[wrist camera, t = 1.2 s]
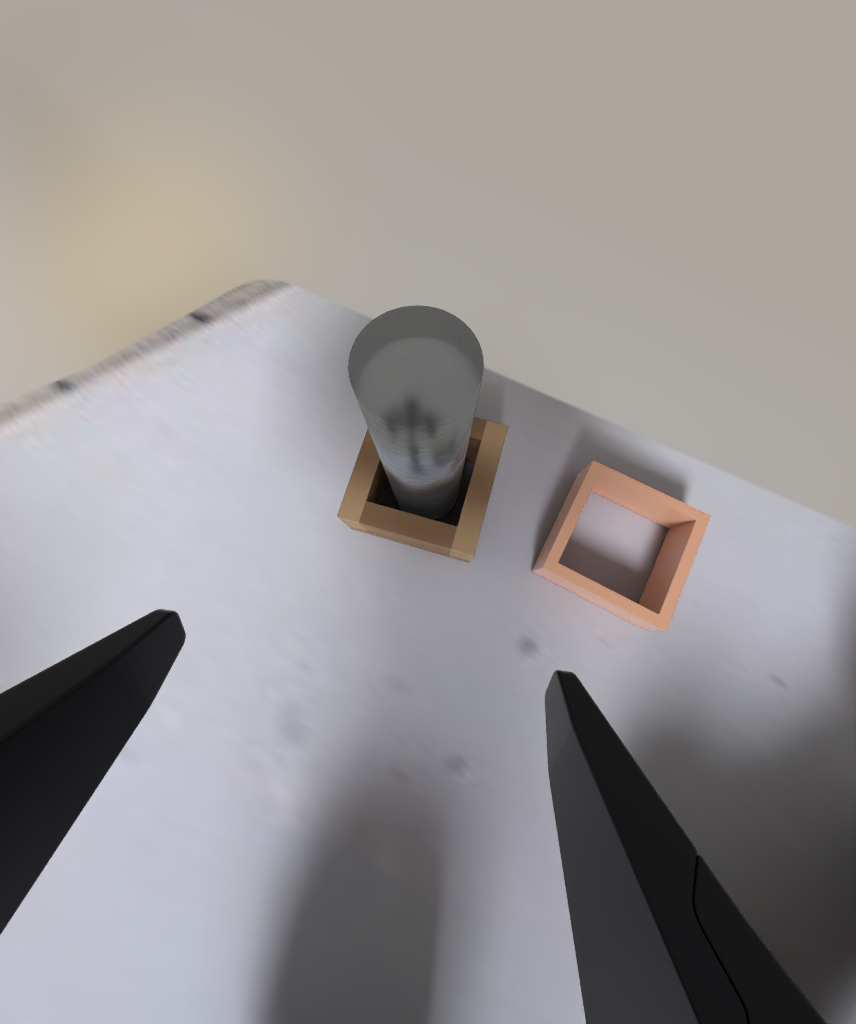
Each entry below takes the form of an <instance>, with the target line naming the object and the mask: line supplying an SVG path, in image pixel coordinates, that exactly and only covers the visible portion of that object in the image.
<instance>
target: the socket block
mask: <svg viewBox="0 0 856 1024" xmlns="http://www.w3.org/2000/svg"><path fill="white" fill-rule="evenodd" d="M591 491H592V492H594V493H596V494H598V495H600V496H602V497H604V498H606V499H608V500H611V501H613V502H615V503H617V504H619V505H621V506H623V507H625V508H627V509H629V510H631V511H633V512H635V513H637V514H640V515H642V516H644V517H646V518H648V519H650V520H652V521H654V522H656V523H658V524H660V525H662V526H664V527H666V528H668V529H669V530H668V532H667V535H666V537H665V540H664V542H663V545H662V547H661V549H660V552H659V554H658V557H657V559H656V562H655V564H654V567H653V569H652V571H651V574H650V576H649V579H648V581H647V584H646V586H645V589H644V591H643V594H642V596H641V598H640V601H639V603H638V604H637V603H635V602H633V601H631V600H629V599H627V598H625V597H624V596H622V595H620V594H618V593H616V592H614V591H612V590H610V589H608V588H606V587H604V586H602V585H600V584H598V583H596V582H594V581H592V580H590V579H588V578H587V577H585V576H583V575H581V574H579V573H577V572H575V571H573V570H571V569H569V568H567V567H565V566H563V565H561V564H559V563H558V562H559V560H560V557H561V555H562V553H563V551H564V549H565V547H566V544H567V542H568V540H569V538H570V536H571V534H572V531H573V529H574V527H575V525H576V523H577V521H578V518H579V516H580V514H581V512H582V510H583V508H584V505H585V503H586V501H587V499H588V497H589V495H590V493H591ZM710 517H711V515H708V514H706V513H704V512H702V511H700V510H698V509H696V508H694V507H691V506H689V505H687V504H685V503H683V502H681V501H679V500H677V499H675V498H672V497H670V496H668V495H666V494H664V493H662V492H660V491H658V490H655V489H653V488H651V487H649V486H647V485H645V484H643V483H641V482H639V481H636V480H634V479H632V478H630V477H628V476H626V475H624V474H622V473H619V472H617V471H615V470H613V469H611V468H609V467H607V466H605V465H603V464H600V463H598V462H596V461H594V460H593V461H592V462H591V463H590V464H588V465H587V466H586V467H585V468H584V469H583V470H582V471H581V472H580V473H578V474H577V476H576V478H575V480H574V483H573V485H572V487H571V489H570V491H569V493H568V495H567V497H566V499H565V501H564V504H563V506H562V508H561V510H560V512H559V514H558V516H557V518H556V520H555V522H554V525H553V527H552V529H551V531H550V533H549V535H548V537H547V539H546V541H545V544H544V546H543V548H542V550H541V552H540V554H539V556H538V558H537V560H536V562H535V565H534V567H533V569H532V572H534V573H536V574H538V575H540V576H542V577H544V578H545V579H547V580H549V581H551V582H553V583H555V584H557V585H559V586H561V587H563V588H565V589H567V590H568V591H570V592H572V593H574V594H576V595H578V596H580V597H582V598H584V599H586V600H588V601H590V602H591V603H593V604H595V605H597V606H599V607H601V608H603V609H605V610H607V611H609V612H611V613H613V614H614V615H616V616H618V617H620V618H622V619H624V620H626V621H628V622H630V623H632V624H634V625H636V626H637V627H639V628H644V629H651V630H659V631H666V630H667V628H668V625H669V623H670V620H671V617H672V615H673V612H674V610H675V607H676V605H677V602H678V599H679V597H680V594H681V592H682V589H683V586H684V584H685V581H686V579H687V576H688V574H689V571H690V568H691V566H692V563H693V561H694V558H695V555H696V553H697V550H698V548H699V545H700V543H701V540H702V537H703V535H704V532H705V530H706V527H707V524H708V522H709V519H710Z"/></svg>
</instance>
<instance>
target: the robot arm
mask: <svg viewBox="0 0 856 1024" xmlns="http://www.w3.org/2000/svg"><path fill="white" fill-rule="evenodd" d="M185 637H186V634H185V630H184V628H183V625H182V622H181V620H180V617H179V615H178V613H177V612H175V611H171V610H164V609H158V610H155V611H153V612H151V613H149V614H148V615H146V616H144V617H142V618H140V619H138V620H136V621H135V622H133V623H131V624H129V625H127V626H125V627H123V628H122V629H120V630H118V631H116V632H114V633H112V634H110V635H109V636H107V637H105V638H103V639H101V640H99V641H97V642H96V643H94V644H92V645H90V646H88V647H86V648H84V649H83V650H81V651H79V652H77V653H75V654H73V655H71V656H70V657H68V658H66V659H64V660H62V661H60V662H58V663H57V664H55V665H53V666H51V667H49V668H47V669H45V670H44V671H42V672H40V673H38V674H36V675H34V676H32V677H31V678H29V679H27V680H25V681H23V682H21V683H19V684H18V685H16V686H14V687H12V688H10V689H8V690H6V691H5V692H3V693H1V694H0V935H1V933H2V932H3V930H4V929H5V927H6V925H7V924H8V922H9V921H10V919H11V918H12V916H13V915H14V913H15V912H16V910H17V909H18V907H19V906H20V904H21V903H22V901H23V900H24V898H25V897H26V895H27V893H28V892H29V890H30V889H31V887H32V886H33V884H34V883H35V881H36V880H37V878H38V877H39V875H40V874H41V872H42V871H43V869H44V868H45V866H46V865H47V863H48V862H49V860H50V858H51V857H52V855H53V854H54V852H55V851H56V849H57V848H58V846H59V845H60V843H61V842H62V840H63V839H64V837H65V836H66V834H67V833H68V831H69V830H70V828H71V826H72V825H73V823H74V822H75V820H76V819H77V817H78V816H79V814H80V813H81V811H82V810H83V808H84V807H85V805H86V804H87V802H88V801H89V799H90V798H91V796H92V794H93V793H94V791H95V790H96V788H97V787H98V785H99V784H100V782H101V781H102V779H103V778H104V776H105V775H106V773H107V772H108V770H109V769H110V767H111V766H112V764H113V763H114V761H115V759H116V758H117V756H118V755H119V753H120V752H121V750H122V749H123V747H124V746H125V744H126V743H127V741H128V740H129V738H130V737H131V735H132V734H133V732H134V731H135V729H136V727H137V726H138V724H139V723H140V721H141V720H142V718H143V717H144V715H145V714H146V712H147V710H148V709H149V707H150V706H151V704H152V702H153V700H154V699H155V697H156V695H157V693H158V691H159V690H160V688H161V686H162V684H163V682H164V680H165V678H166V676H167V675H168V673H169V671H170V669H171V667H172V665H173V663H174V661H175V660H176V658H177V656H178V654H179V652H180V650H181V648H182V646H183V644H184V642H185ZM545 712H546V733H547V754H548V771H549V779H550V787H551V793H552V800H553V807H554V813H555V820H556V826H557V833H558V840H559V846H560V853H561V859H562V866H563V873H564V879H565V886H566V893H567V899H568V906H569V912H570V919H571V926H572V932H573V939H574V945H575V952H576V959H577V965H578V972H579V978H580V985H581V992H582V998H583V1005H584V1011H585V1018H586V1024H827V1023H826V1022H825V1021H824V1020H823V1018H822V1017H821V1016H820V1014H819V1013H818V1012H817V1011H816V1009H815V1008H814V1007H813V1006H812V1004H811V1003H810V1002H809V1000H808V999H807V998H806V997H805V995H804V994H803V993H802V992H801V990H800V989H799V988H798V986H797V985H796V984H795V983H794V981H793V980H792V979H791V978H790V976H789V975H788V974H787V972H786V971H785V970H784V969H783V967H782V966H781V965H780V963H779V962H778V961H777V959H776V958H775V957H774V956H773V954H772V953H771V952H770V950H769V949H768V948H767V946H766V945H765V944H764V942H763V941H762V940H761V938H760V937H759V936H758V935H757V933H756V932H755V931H754V929H753V928H752V927H751V925H750V924H749V923H748V921H747V920H746V919H745V917H744V916H743V914H742V913H741V912H740V910H739V909H738V908H737V906H736V905H735V903H734V902H733V901H732V899H731V898H730V896H729V895H728V894H727V892H726V891H725V889H724V888H723V887H722V885H721V884H720V882H719V881H718V880H717V878H716V877H715V875H714V874H713V872H712V871H711V869H710V868H709V867H708V865H707V864H706V862H705V861H704V859H703V858H702V856H701V855H697V850H696V848H695V847H694V845H693V844H692V842H691V841H690V839H689V838H688V836H687V835H686V834H685V832H684V831H683V829H682V828H681V826H680V825H679V823H678V822H677V821H676V819H675V818H674V816H673V815H672V813H671V812H670V810H669V809H668V808H667V806H666V805H665V803H664V802H663V800H662V799H661V797H660V796H659V795H658V793H657V792H656V790H655V789H654V787H653V786H652V784H651V783H650V782H649V780H648V779H647V777H646V776H645V774H644V773H643V771H642V770H641V769H640V767H639V766H638V764H637V763H636V761H635V760H634V758H633V757H632V756H631V754H630V753H629V751H628V750H627V748H626V747H625V745H624V744H623V743H622V741H621V740H620V738H619V737H618V735H617V734H616V732H615V731H614V730H613V728H612V727H611V725H610V724H609V722H608V721H607V719H606V718H605V717H604V715H603V714H602V712H601V711H600V709H599V708H598V706H597V705H596V704H595V702H594V701H593V699H592V698H591V696H590V695H589V693H588V692H587V691H586V689H585V688H584V686H583V685H582V683H581V682H580V680H579V679H578V678H577V676H576V675H575V674H574V673H572V672H567V671H561V670H556V671H555V672H554V673H553V676H552V678H551V680H550V683H549V685H548V688H547V690H546V694H545Z"/></svg>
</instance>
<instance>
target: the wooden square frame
mask: <svg viewBox="0 0 856 1024" xmlns="http://www.w3.org/2000/svg"><path fill="white" fill-rule="evenodd" d="M507 429H508V426H506V425H502V424H498V423H495V422H491V421H487V420H483V419H479V418H475V417H474V419H473V423H472V428H471V433H470V438H469V443H468V448H467V452H466V457H465V460H467V461H471V462H474V463H475V465H474V469H473V472H472V476H471V480H470V483H469V487H468V490H467V494H466V497H465V501H464V505H463V508H462V512H461V515H460V519H459V522H458V526H457V527H456V526H453V525H449V524H446V523H442V522H439V521H435V520H432V519H428V518H425V517H421V516H417V515H414V514H410V513H407V512H403V511H400V510H396V509H393V508H389V507H386V506H382V505H380V502H381V499H382V495H383V492H384V489H385V486H386V483H387V480H388V477H387V475H386V472H385V470H384V467H383V465H382V462H381V459H380V457H379V454H378V452H377V449H376V447H375V444H374V441H373V439H372V436H371V434H370V431H369V429H368V430H367V432H366V435H365V438H364V441H363V444H362V447H361V449H360V452H359V455H358V458H357V461H356V464H355V466H354V469H353V472H352V475H351V478H350V481H349V483H348V486H347V489H346V492H345V495H344V498H343V500H342V503H341V506H340V509H339V512H338V515H337V517H338V518H340V519H341V520H342V521H343V522H344V523H345V524H347V525H348V526H349V527H350V528H351V529H355V530H358V531H361V532H365V533H368V534H372V535H375V536H379V537H382V538H386V539H389V540H393V541H396V542H400V543H403V544H406V545H410V546H413V547H417V548H420V549H424V550H427V551H431V552H434V553H438V554H441V555H444V556H448V557H451V558H455V559H458V560H462V561H465V562H469V561H470V560H471V558H472V557H473V556H474V554H475V550H476V546H477V542H478V538H479V535H480V531H481V527H482V523H483V520H484V516H485V512H486V508H487V505H488V501H489V497H490V493H491V490H492V486H493V482H494V478H495V475H496V471H497V467H498V463H499V459H500V456H501V452H502V448H503V444H504V441H505V437H506V433H507Z"/></svg>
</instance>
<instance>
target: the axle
mask: <svg viewBox="0 0 856 1024" xmlns="http://www.w3.org/2000/svg"><path fill="white" fill-rule="evenodd" d="M483 366H484V365H483V355H482V350H481V347H480V344H479V342H478V340H477V338H476V336H475V335H474V334H473V332H472V331H471V329H470V328H469V327H468V326H467V325H466V324H465V323H464V322H463V321H461V320H460V319H459V318H457V317H456V316H454V315H452V314H450V313H448V312H446V311H444V310H441V309H437V308H434V307H428V306H407V307H401V308H397V309H394V310H391V311H388V312H386V313H384V314H382V315H380V316H378V317H377V318H375V319H374V320H372V321H371V322H370V323H369V324H368V325H367V326H366V327H365V328H364V329H363V330H362V331H361V332H360V334H359V335H358V337H357V338H356V340H355V342H354V344H353V346H352V349H351V352H350V357H349V366H348V369H349V377H350V381H351V385H352V387H353V390H354V392H355V395H356V398H357V400H358V403H359V405H360V408H361V411H362V413H363V416H364V418H365V421H366V423H367V426H368V429H369V431H370V434H371V436H372V439H373V441H374V444H375V447H376V449H377V452H378V454H379V457H380V459H381V462H382V465H383V467H384V470H385V472H386V475H387V477H388V480H389V483H390V485H391V488H392V490H393V493H394V496H395V498H396V501H397V503H398V505H399V506H400V508H401V509H402V510H403V511H404V512H407V513H410V514H414V515H417V516H421V517H425V518H428V519H436V518H439V517H441V516H443V515H445V514H446V513H447V512H448V511H449V510H450V509H451V508H452V507H453V505H454V504H455V502H456V499H457V496H458V491H459V486H460V481H461V477H462V472H463V467H464V462H465V457H466V452H467V448H468V443H469V438H470V433H471V428H472V423H473V419H474V414H475V409H476V404H477V399H478V394H479V389H480V385H481V380H482V375H483Z"/></svg>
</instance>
